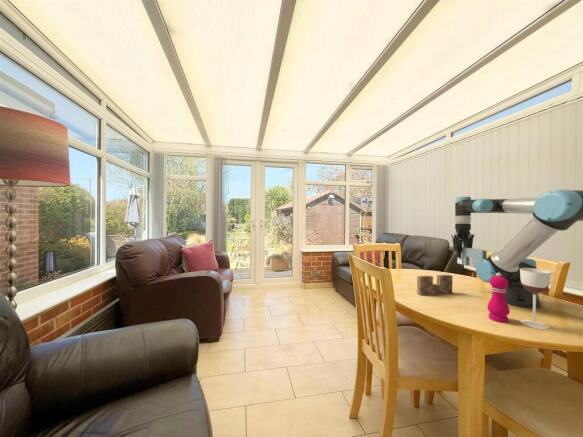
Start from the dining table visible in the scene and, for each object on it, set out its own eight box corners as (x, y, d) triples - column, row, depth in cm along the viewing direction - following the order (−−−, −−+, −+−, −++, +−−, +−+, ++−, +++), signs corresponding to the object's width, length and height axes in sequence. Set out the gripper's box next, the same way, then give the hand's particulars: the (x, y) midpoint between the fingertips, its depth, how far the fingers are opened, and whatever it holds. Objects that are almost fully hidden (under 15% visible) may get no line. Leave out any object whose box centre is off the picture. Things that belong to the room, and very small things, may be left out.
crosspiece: (486, 269, 127) (486, 250, 127) (482, 269, 127) (482, 250, 127) (460, 263, 143) (460, 246, 143) (457, 263, 143) (457, 246, 142)
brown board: (448, 291, 138) (448, 274, 138) (452, 293, 135) (452, 275, 135) (417, 293, 135) (417, 276, 135) (420, 295, 132) (420, 277, 132)
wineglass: (522, 326, 96) (523, 271, 95) (516, 317, 104) (517, 266, 103) (553, 331, 91) (554, 274, 91) (545, 322, 99) (546, 269, 99)
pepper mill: (500, 316, 105) (501, 270, 105) (514, 323, 98) (515, 275, 98) (483, 315, 106) (483, 270, 105) (495, 323, 99) (495, 274, 98)
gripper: (468, 222, 145) (468, 261, 145) (445, 223, 142) (445, 262, 143) (480, 223, 137) (480, 264, 138) (456, 223, 135) (456, 265, 135)
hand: (462, 263), depth 140 cm, fingers closed on crosspiece, 2 cm apart
